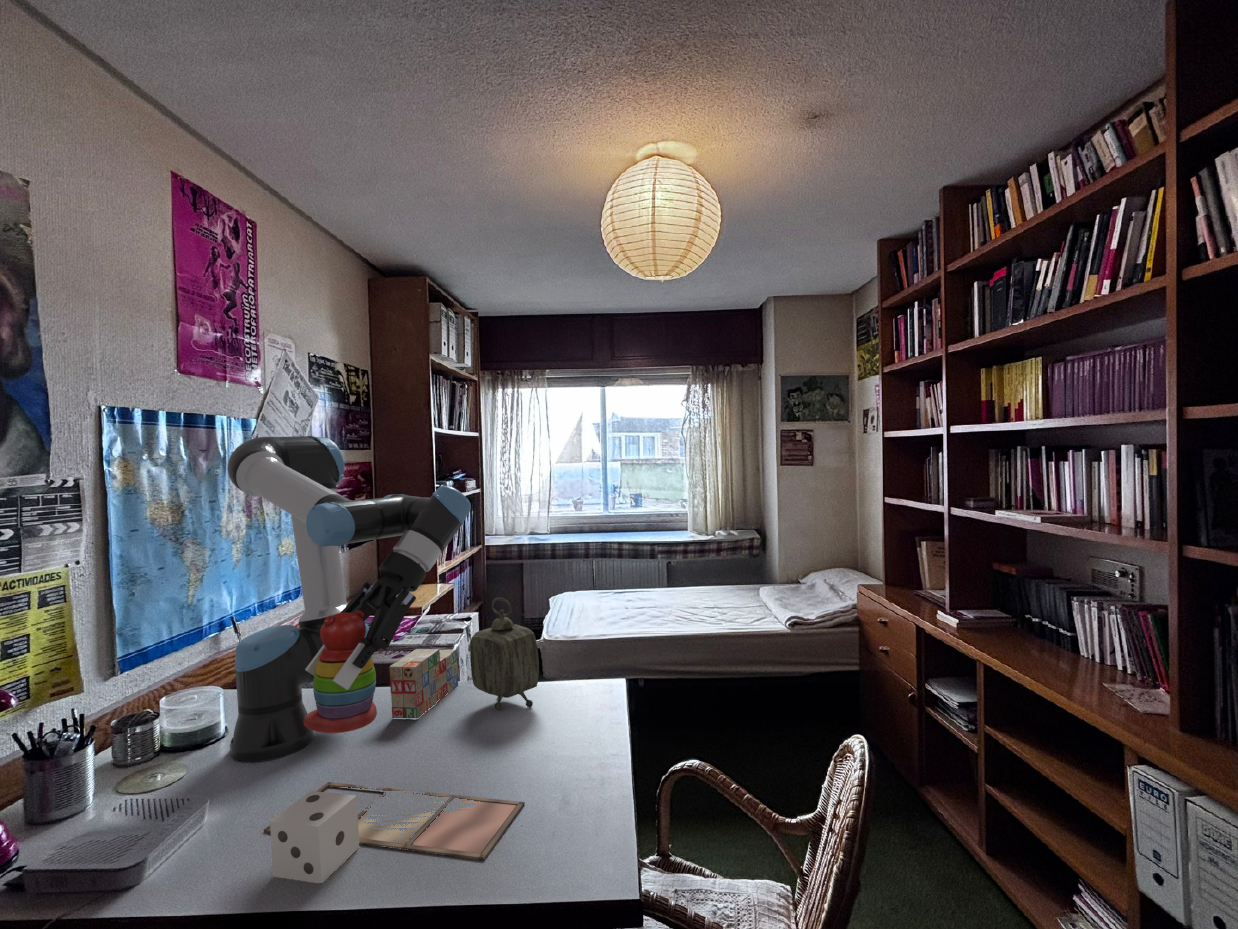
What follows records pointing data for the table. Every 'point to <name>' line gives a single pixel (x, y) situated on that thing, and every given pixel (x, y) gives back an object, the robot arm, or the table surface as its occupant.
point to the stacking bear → (332, 700)
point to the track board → (442, 826)
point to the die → (314, 836)
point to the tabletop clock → (504, 658)
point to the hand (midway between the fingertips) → (325, 679)
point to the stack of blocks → (421, 681)
